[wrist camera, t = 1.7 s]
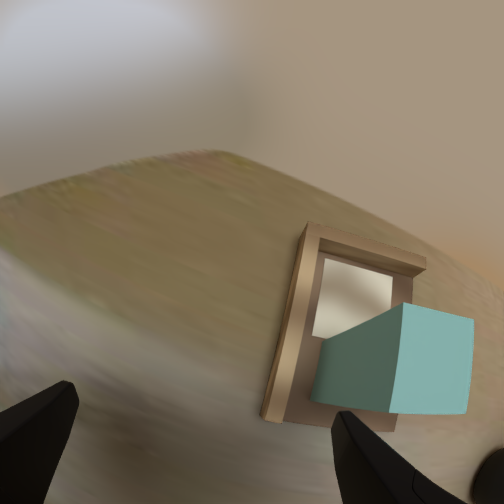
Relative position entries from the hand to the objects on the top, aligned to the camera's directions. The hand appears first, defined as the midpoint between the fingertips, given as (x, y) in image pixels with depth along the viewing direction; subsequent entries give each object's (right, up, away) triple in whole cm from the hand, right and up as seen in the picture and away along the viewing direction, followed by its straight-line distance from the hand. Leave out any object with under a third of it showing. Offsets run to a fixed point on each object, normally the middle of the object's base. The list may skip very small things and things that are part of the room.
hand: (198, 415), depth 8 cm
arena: (+10, -2, +16) cm, 19 cm away
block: (+9, -5, +14) cm, 17 cm away
